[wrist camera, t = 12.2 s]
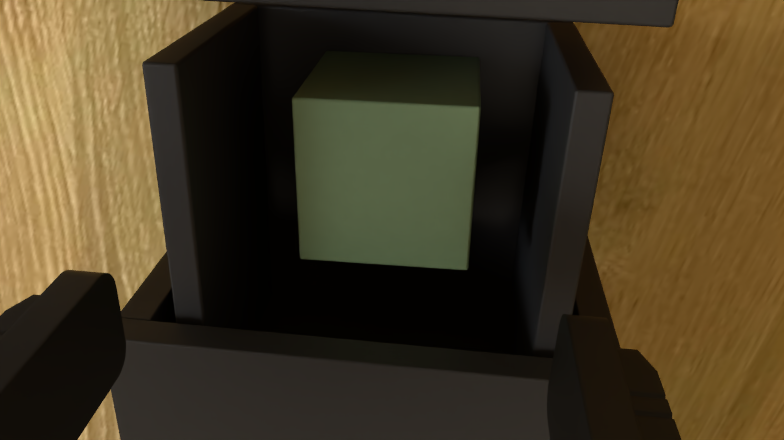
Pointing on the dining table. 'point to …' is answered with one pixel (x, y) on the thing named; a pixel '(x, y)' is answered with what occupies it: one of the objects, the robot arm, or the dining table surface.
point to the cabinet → (322, 381)
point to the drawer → (278, 178)
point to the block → (387, 158)
